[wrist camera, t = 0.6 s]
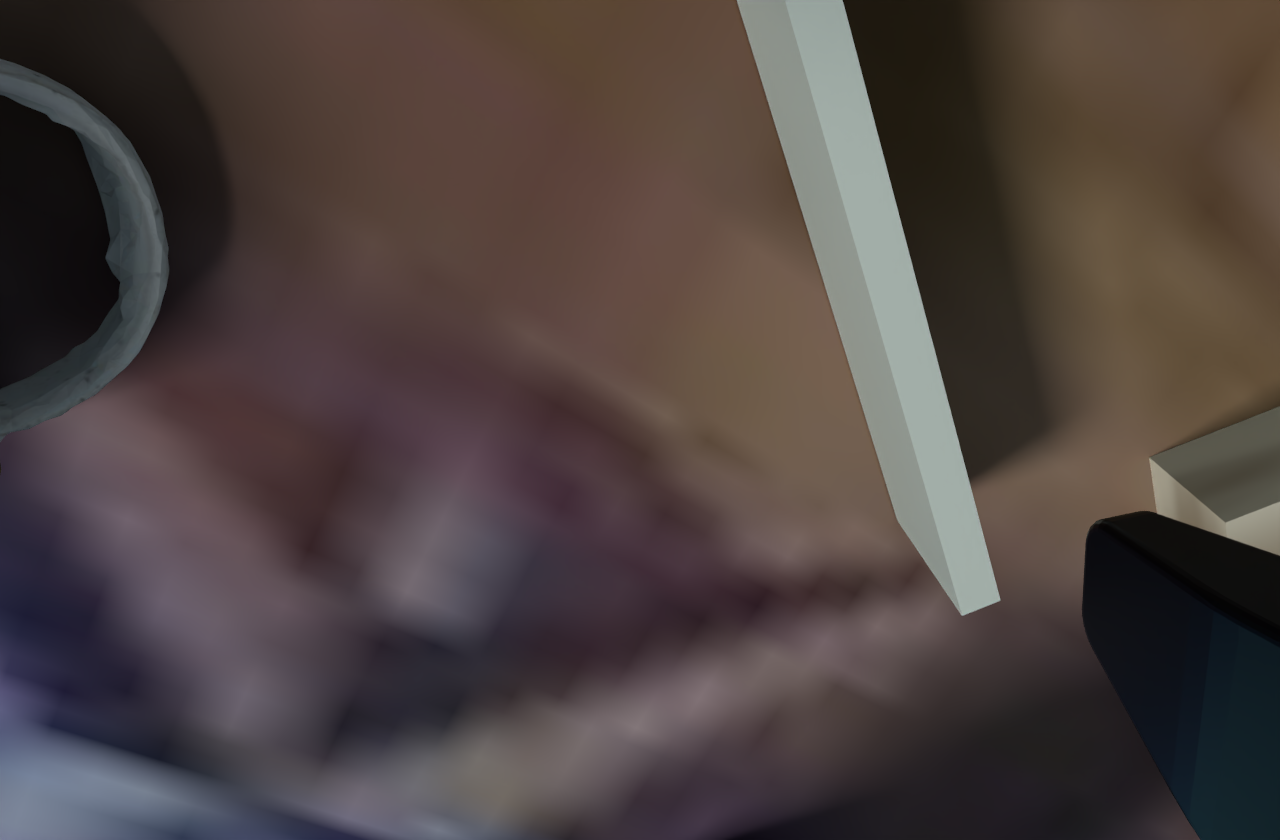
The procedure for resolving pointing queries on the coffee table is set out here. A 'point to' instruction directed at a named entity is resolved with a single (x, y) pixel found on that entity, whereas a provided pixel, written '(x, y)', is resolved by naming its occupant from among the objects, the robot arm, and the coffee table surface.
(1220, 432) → the tile
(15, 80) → the ceramic mug
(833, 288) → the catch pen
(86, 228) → the coffee table surface
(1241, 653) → the robot arm
